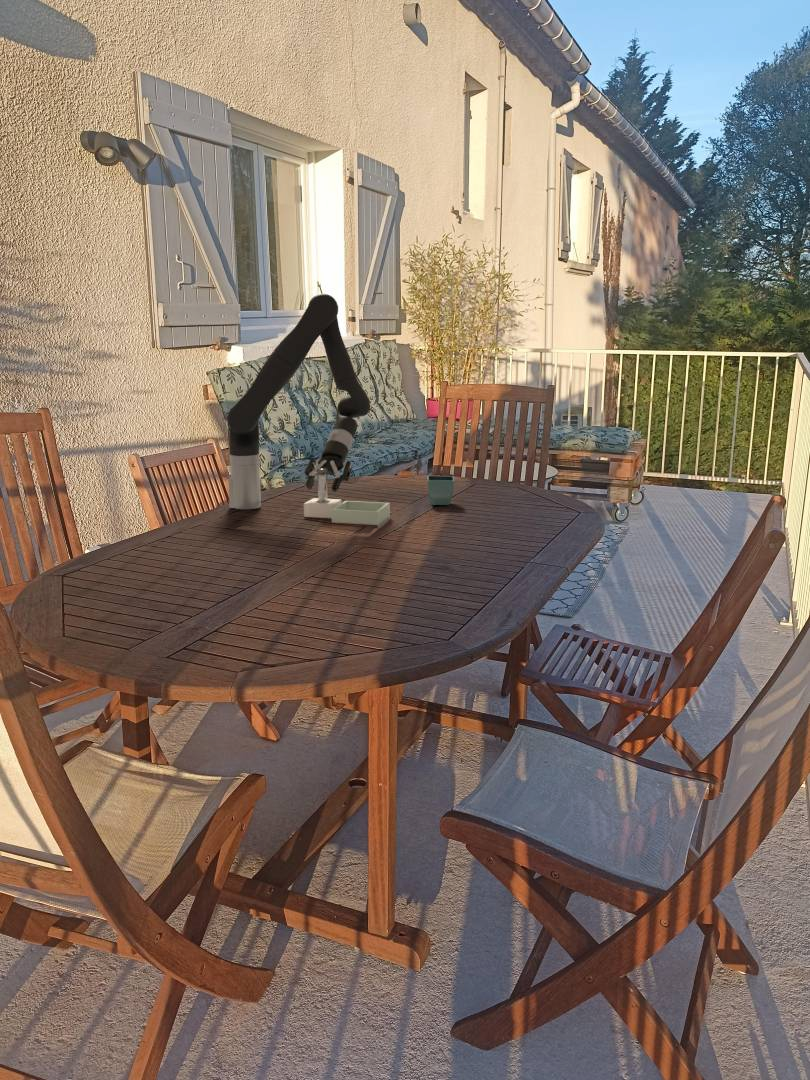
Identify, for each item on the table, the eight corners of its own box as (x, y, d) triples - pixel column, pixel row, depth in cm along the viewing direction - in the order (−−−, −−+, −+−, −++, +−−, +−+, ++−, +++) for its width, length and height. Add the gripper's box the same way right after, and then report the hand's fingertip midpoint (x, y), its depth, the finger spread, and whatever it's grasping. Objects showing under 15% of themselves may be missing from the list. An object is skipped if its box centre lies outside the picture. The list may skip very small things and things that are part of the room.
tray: (331, 525, 246) (331, 509, 245) (345, 515, 259) (345, 500, 258) (378, 528, 243) (377, 511, 242) (389, 518, 256) (389, 502, 255)
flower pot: (454, 507, 273) (454, 480, 271) (427, 507, 273) (427, 480, 271) (453, 502, 282) (453, 475, 280) (427, 502, 282) (427, 475, 280)
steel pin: (315, 515, 255) (315, 469, 252) (319, 512, 259) (318, 467, 255) (326, 515, 255) (325, 469, 251) (330, 513, 258) (329, 468, 255)
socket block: (304, 519, 254) (303, 503, 252) (314, 513, 262) (313, 498, 261) (332, 521, 252) (332, 504, 250) (341, 515, 260) (341, 499, 259)
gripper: (313, 438, 261) (295, 480, 253) (354, 440, 256) (337, 483, 248) (321, 453, 267) (304, 494, 259) (362, 455, 262) (346, 498, 254)
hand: (320, 489), depth 254 cm, fingers open, 8 cm apart
